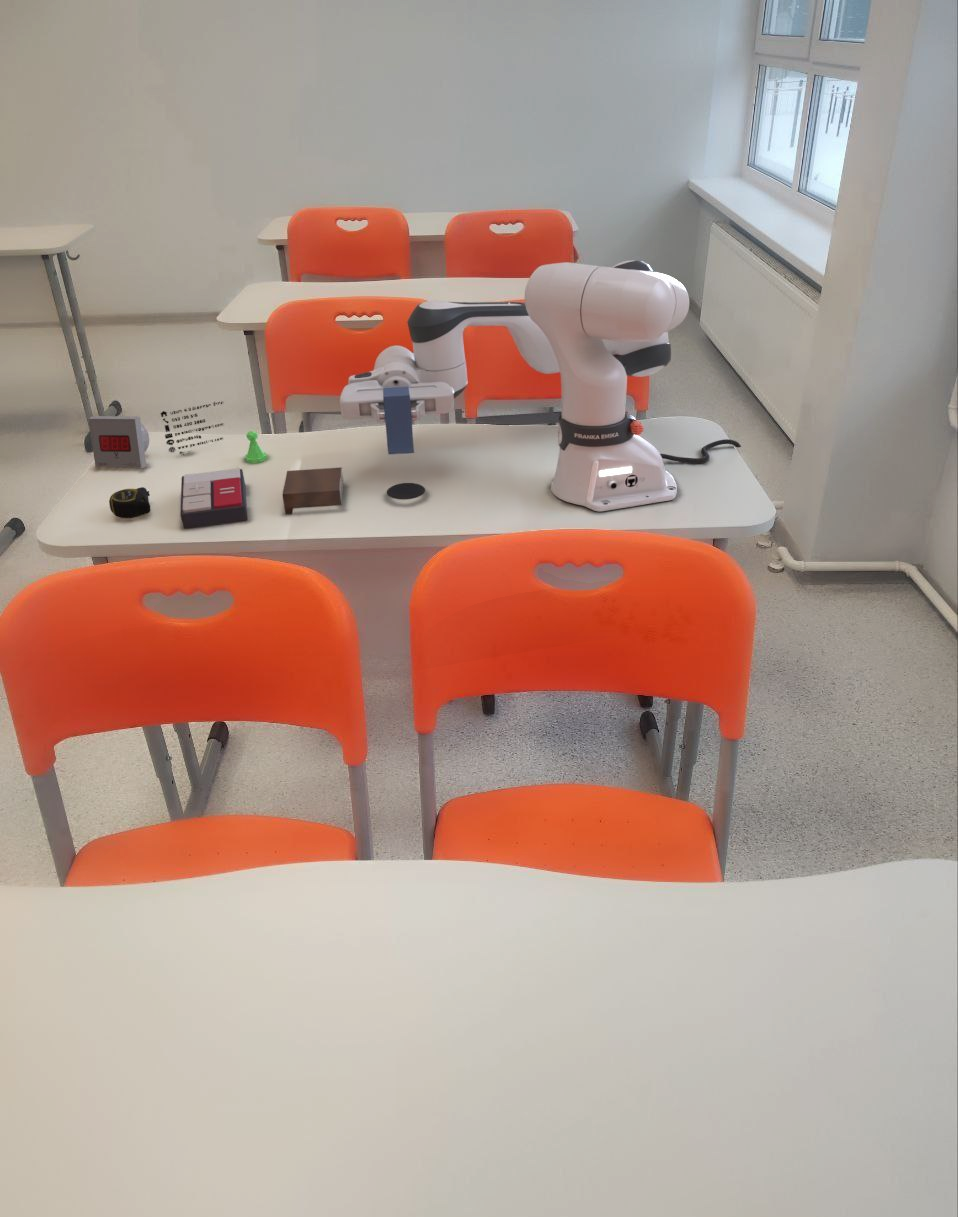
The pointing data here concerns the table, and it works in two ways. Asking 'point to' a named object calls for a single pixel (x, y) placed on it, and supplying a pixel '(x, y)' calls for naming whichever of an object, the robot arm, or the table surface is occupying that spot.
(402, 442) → the block
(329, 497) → the stand
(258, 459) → the game piece
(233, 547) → the table surface
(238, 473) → the calculator
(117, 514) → the tape measure
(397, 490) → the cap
